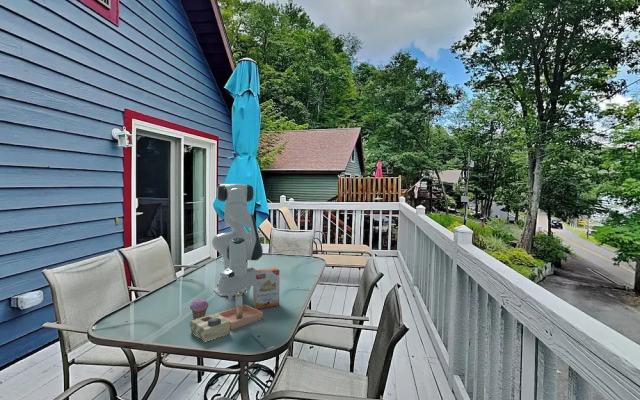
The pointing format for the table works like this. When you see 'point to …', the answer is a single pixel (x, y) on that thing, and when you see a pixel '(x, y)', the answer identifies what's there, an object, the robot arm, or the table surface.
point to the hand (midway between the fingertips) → (238, 297)
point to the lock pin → (239, 305)
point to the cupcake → (199, 308)
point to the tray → (248, 316)
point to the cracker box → (266, 288)
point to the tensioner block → (210, 327)
